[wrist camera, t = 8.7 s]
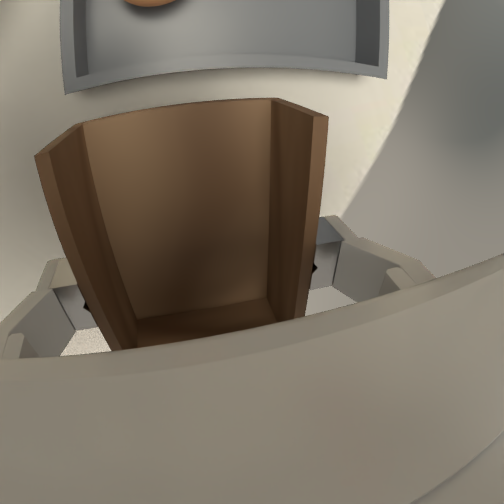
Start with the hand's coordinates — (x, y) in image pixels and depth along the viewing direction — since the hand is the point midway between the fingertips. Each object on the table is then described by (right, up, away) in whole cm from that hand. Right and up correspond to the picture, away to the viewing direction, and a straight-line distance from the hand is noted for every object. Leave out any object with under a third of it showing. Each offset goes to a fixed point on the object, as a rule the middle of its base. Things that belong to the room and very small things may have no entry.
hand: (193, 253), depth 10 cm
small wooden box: (0, +1, +1) cm, 2 cm away
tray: (0, +17, +3) cm, 18 cm away
